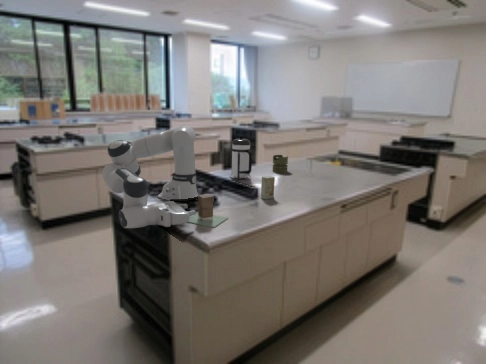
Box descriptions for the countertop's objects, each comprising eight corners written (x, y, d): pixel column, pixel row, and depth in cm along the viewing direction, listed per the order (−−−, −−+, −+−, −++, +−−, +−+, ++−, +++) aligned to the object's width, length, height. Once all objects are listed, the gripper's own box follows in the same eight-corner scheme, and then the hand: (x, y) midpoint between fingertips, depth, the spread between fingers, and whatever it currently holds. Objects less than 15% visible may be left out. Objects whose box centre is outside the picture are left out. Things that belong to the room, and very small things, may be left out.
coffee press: (226, 180, 232) (226, 135, 224) (233, 175, 246) (234, 133, 239) (250, 182, 227) (252, 137, 219) (257, 177, 241) (258, 134, 234)
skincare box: (265, 199, 189) (266, 178, 186) (260, 197, 193) (261, 176, 190) (274, 197, 193) (275, 176, 190) (269, 196, 196) (270, 175, 193)
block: (208, 193, 156) (208, 216, 159) (198, 195, 154) (198, 218, 157) (212, 196, 152) (212, 220, 155) (202, 198, 150) (202, 221, 152)
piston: (280, 157, 253) (270, 155, 261) (279, 173, 256) (269, 171, 264) (291, 156, 260) (280, 154, 268) (290, 171, 262) (279, 169, 271)
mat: (183, 221, 153) (183, 220, 153) (198, 213, 165) (198, 212, 165) (214, 227, 147) (214, 226, 147) (228, 218, 159) (228, 217, 158)
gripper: (153, 213, 153) (182, 208, 160) (168, 228, 136) (200, 223, 143) (152, 199, 152) (182, 196, 158) (167, 213, 135) (200, 208, 141)
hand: (191, 208), depth 151 cm, fingers open, 8 cm apart
